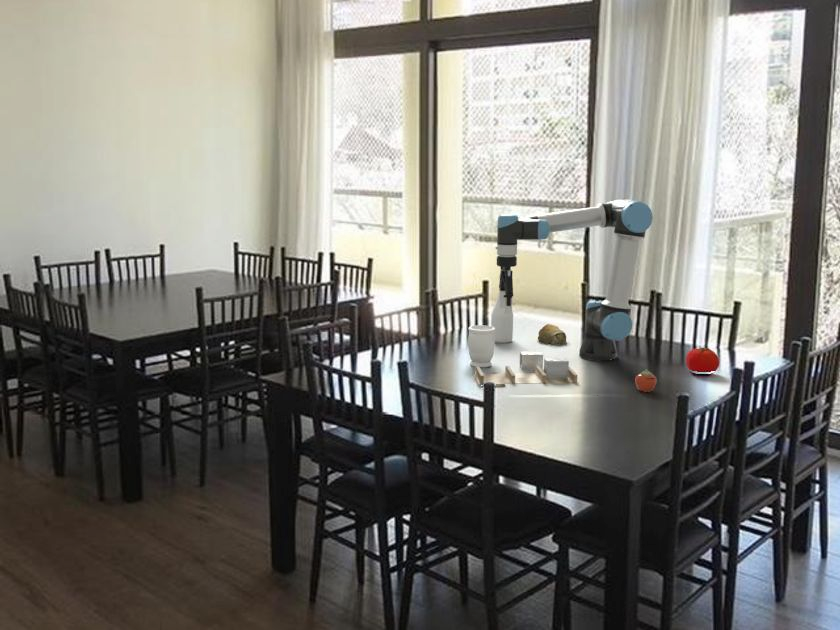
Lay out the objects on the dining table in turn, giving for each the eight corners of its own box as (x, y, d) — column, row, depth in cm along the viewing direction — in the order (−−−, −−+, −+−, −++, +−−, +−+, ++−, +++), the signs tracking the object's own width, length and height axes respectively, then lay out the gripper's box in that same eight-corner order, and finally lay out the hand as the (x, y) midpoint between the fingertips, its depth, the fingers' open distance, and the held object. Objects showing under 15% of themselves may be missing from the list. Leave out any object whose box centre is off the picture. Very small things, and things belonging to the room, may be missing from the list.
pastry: (537, 338, 391) (538, 320, 390) (565, 339, 390) (566, 321, 388) (537, 345, 377) (538, 327, 376) (566, 346, 376) (567, 328, 374)
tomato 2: (692, 368, 340) (694, 342, 338) (723, 374, 331) (725, 348, 329) (677, 373, 332) (679, 346, 330) (709, 379, 324) (711, 352, 322)
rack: (569, 375, 326) (569, 365, 326) (579, 386, 312) (580, 376, 311) (473, 376, 324) (473, 366, 323) (479, 387, 309) (479, 376, 308)
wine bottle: (513, 343, 379) (515, 275, 374) (491, 343, 379) (493, 274, 374) (511, 338, 389) (513, 272, 383) (490, 338, 389) (491, 271, 383)
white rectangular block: (540, 369, 336) (540, 351, 335) (542, 372, 331) (543, 354, 330) (519, 369, 335) (520, 351, 334) (521, 372, 331) (522, 354, 330)
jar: (492, 369, 335) (493, 331, 332) (465, 367, 337) (466, 329, 334) (495, 362, 345) (496, 325, 342) (469, 361, 347) (470, 324, 344)
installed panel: (565, 376, 321) (565, 358, 320) (567, 379, 317) (568, 361, 316) (543, 376, 321) (544, 358, 320) (546, 380, 316) (546, 361, 315)
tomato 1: (643, 394, 303) (644, 372, 301) (629, 389, 309) (631, 367, 308) (660, 392, 305) (662, 370, 304) (647, 387, 312) (648, 365, 311)
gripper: (492, 251, 341) (491, 305, 345) (501, 259, 317) (500, 317, 321) (511, 251, 342) (510, 305, 346) (522, 259, 317) (520, 317, 321)
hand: (505, 311), depth 333 cm, fingers open, 13 cm apart
